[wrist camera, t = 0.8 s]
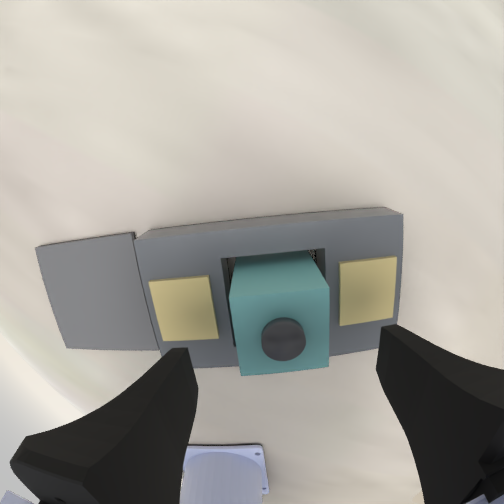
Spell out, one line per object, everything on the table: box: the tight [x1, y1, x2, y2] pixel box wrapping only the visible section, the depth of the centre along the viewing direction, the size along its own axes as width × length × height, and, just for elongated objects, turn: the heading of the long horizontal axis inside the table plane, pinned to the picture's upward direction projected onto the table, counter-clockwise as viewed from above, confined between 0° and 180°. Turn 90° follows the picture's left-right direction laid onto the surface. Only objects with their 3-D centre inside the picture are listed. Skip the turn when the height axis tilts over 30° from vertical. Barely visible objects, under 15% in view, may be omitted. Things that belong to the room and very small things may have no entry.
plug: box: [229, 250, 330, 376], centre depth 15 cm, size 4×4×7 cm
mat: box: [35, 232, 159, 350], centre depth 18 cm, size 8×8×1 cm
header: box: [134, 207, 403, 368], centre depth 17 cm, size 8×14×3 cm, turn 96°
